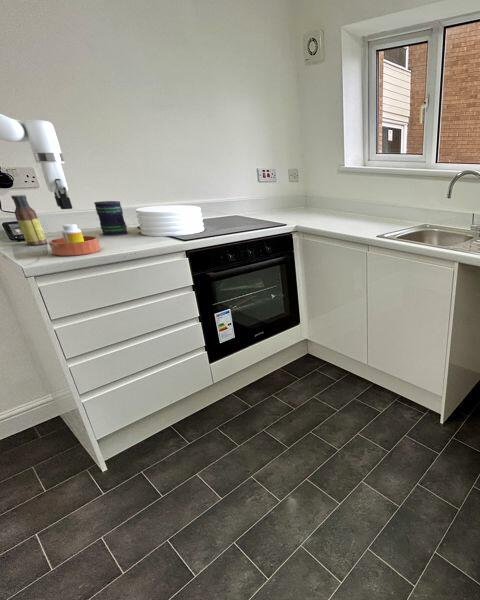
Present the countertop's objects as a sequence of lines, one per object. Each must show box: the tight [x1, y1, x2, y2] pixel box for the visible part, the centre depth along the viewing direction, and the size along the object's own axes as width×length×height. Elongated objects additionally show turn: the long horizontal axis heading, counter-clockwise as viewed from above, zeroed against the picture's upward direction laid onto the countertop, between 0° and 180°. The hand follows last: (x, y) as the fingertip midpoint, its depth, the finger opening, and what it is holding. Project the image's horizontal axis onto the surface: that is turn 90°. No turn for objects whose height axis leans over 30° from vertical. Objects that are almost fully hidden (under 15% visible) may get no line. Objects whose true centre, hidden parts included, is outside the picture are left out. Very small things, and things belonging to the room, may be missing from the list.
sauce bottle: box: [10, 194, 48, 246], centre depth 143 cm, size 6×6×20 cm
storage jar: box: [93, 200, 129, 237], centre depth 168 cm, size 10×10×15 cm
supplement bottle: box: [61, 223, 84, 243], centre depth 135 cm, size 6×6×10 cm
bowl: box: [48, 235, 102, 257], centre depth 136 cm, size 14×14×5 cm
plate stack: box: [135, 204, 205, 237], centre depth 180 cm, size 28×28×12 cm
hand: (65, 207), depth 131 cm, fingers open, 9 cm apart
